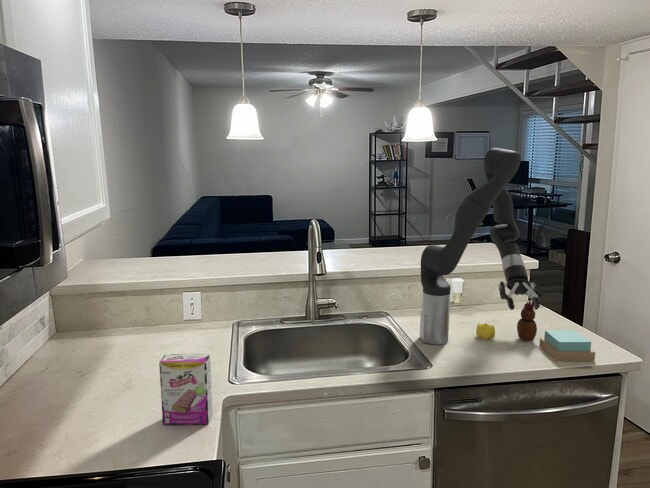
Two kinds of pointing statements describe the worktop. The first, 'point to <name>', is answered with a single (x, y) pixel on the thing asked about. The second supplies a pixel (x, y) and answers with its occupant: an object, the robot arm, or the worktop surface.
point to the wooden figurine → (527, 323)
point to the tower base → (566, 353)
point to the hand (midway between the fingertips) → (524, 308)
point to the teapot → (485, 331)
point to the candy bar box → (186, 389)
